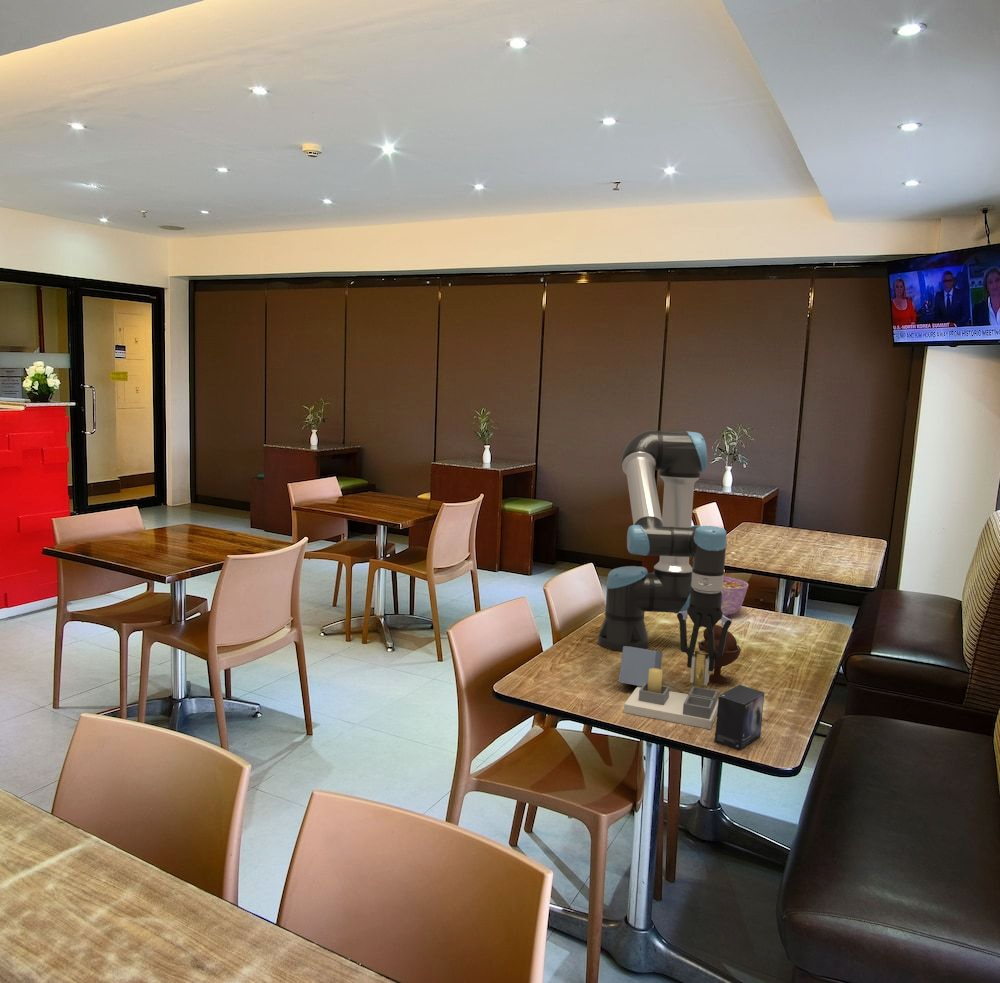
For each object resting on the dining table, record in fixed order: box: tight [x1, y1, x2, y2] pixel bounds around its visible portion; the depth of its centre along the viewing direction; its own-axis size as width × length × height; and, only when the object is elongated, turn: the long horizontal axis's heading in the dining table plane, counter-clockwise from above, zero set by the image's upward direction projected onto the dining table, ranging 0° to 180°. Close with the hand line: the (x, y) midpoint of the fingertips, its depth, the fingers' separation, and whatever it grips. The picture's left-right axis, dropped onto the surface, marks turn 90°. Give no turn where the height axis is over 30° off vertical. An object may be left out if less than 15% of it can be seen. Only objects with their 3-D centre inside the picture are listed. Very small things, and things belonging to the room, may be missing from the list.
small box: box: [713, 684, 765, 750], centre depth 172 cm, size 11×6×10 cm, turn 138°
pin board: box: [623, 668, 719, 730], centre depth 187 cm, size 20×14×9 cm
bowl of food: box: [721, 576, 749, 617], centre depth 277 cm, size 20×20×12 cm
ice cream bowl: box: [697, 624, 742, 685], centre depth 208 cm, size 11×11×15 cm
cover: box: [618, 646, 663, 686], centre depth 201 cm, size 8×8×9 cm
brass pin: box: [692, 650, 708, 689], centre depth 196 cm, size 3×3×10 cm
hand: (699, 681), depth 196 cm, fingers closed on brass pin, 3 cm apart
